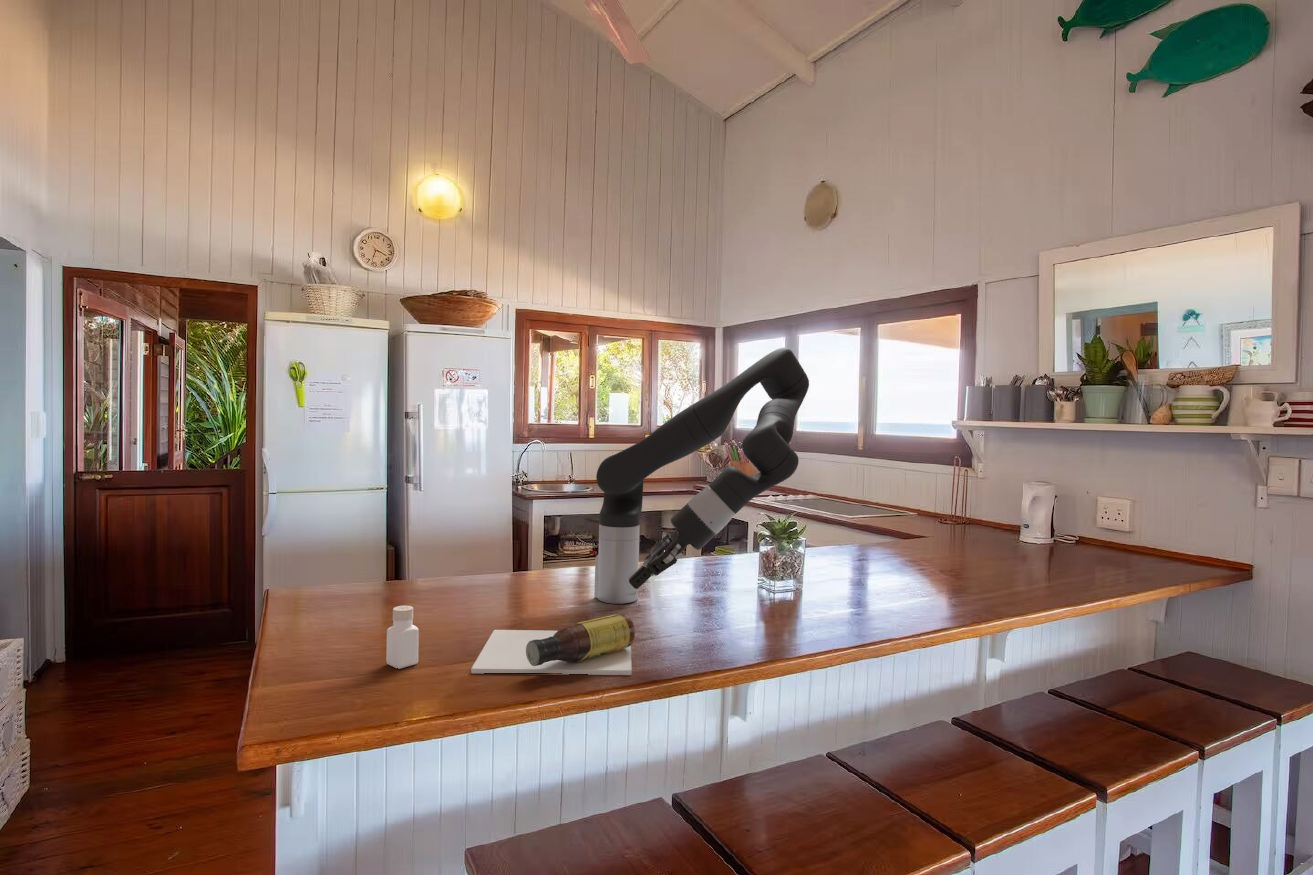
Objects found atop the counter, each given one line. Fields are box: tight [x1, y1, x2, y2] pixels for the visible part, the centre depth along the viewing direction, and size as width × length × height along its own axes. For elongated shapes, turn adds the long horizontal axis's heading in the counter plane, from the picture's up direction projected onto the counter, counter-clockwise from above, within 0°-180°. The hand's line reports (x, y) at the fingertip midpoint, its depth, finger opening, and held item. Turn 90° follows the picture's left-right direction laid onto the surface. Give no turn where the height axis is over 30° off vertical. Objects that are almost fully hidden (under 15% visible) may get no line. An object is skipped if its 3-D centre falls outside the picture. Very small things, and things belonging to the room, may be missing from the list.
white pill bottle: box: [385, 605, 420, 670], centre depth 117 cm, size 4×4×10 cm
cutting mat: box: [470, 629, 633, 676], centre depth 125 cm, size 26×20×1 cm
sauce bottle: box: [526, 613, 636, 666], centre depth 120 cm, size 7×6×20 cm
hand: (632, 584), depth 125 cm, fingers closed
